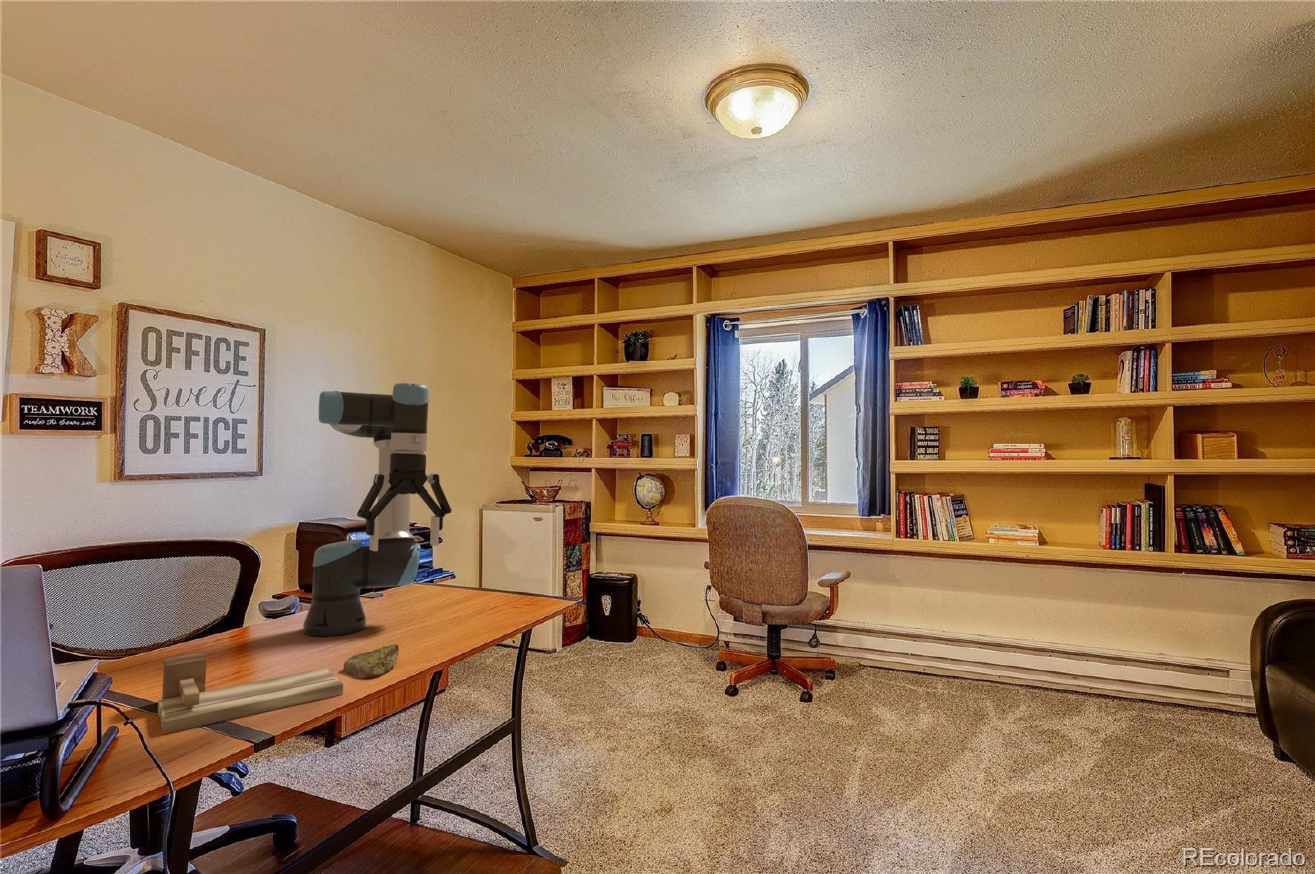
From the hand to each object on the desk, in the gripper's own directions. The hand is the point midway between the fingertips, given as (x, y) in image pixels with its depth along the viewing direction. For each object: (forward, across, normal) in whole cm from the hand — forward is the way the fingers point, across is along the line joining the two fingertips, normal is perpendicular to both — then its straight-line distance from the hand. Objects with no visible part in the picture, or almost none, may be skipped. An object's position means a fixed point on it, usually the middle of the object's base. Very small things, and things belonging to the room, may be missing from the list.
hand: (405, 547), depth 138 cm
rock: (+28, -5, +5) cm, 29 cm away
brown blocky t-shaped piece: (+27, -38, +5) cm, 47 cm away
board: (+27, -28, 0) cm, 39 cm away
